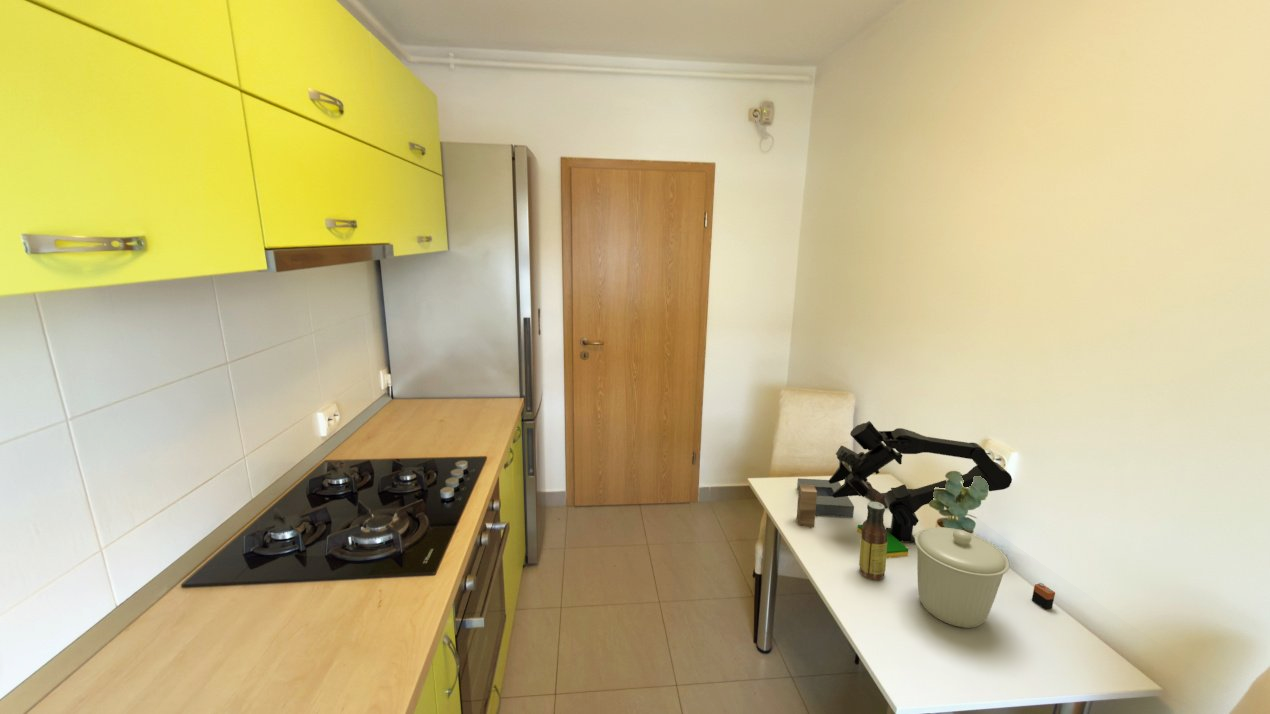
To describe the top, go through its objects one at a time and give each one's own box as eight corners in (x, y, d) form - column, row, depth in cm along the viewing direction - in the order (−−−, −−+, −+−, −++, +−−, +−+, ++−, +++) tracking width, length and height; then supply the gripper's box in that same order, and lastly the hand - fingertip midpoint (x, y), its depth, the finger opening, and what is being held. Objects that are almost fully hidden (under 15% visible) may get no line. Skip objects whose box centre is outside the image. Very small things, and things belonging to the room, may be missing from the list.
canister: (1003, 610, 112) (1018, 531, 108) (990, 655, 100) (1006, 567, 95) (918, 575, 125) (928, 502, 120) (897, 611, 112) (907, 531, 108)
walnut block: (814, 527, 147) (817, 492, 144) (799, 526, 148) (802, 491, 145) (810, 519, 151) (813, 485, 149) (796, 518, 152) (799, 484, 149)
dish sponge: (877, 529, 146) (878, 522, 146) (908, 557, 133) (909, 549, 132) (856, 531, 145) (857, 524, 145) (885, 559, 132) (886, 551, 131)
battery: (1038, 599, 116) (1041, 581, 115) (1052, 608, 113) (1056, 590, 112) (1030, 600, 115) (1034, 582, 114) (1045, 610, 112) (1049, 592, 111)
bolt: (858, 492, 173) (886, 512, 158) (847, 486, 171) (876, 506, 157) (866, 478, 172) (895, 497, 158) (856, 473, 171) (884, 491, 156)
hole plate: (853, 517, 152) (854, 506, 151) (808, 514, 154) (809, 503, 153) (837, 490, 170) (838, 480, 169) (797, 488, 171) (797, 478, 171)
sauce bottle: (887, 572, 126) (895, 505, 122) (880, 584, 121) (888, 514, 117) (861, 562, 130) (868, 496, 126) (853, 573, 126) (861, 505, 121)
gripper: (850, 429, 149) (810, 457, 154) (860, 452, 131) (815, 483, 137) (874, 455, 148) (834, 482, 154) (888, 481, 131) (842, 512, 136)
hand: (831, 489), depth 145 cm, fingers open, 9 cm apart
